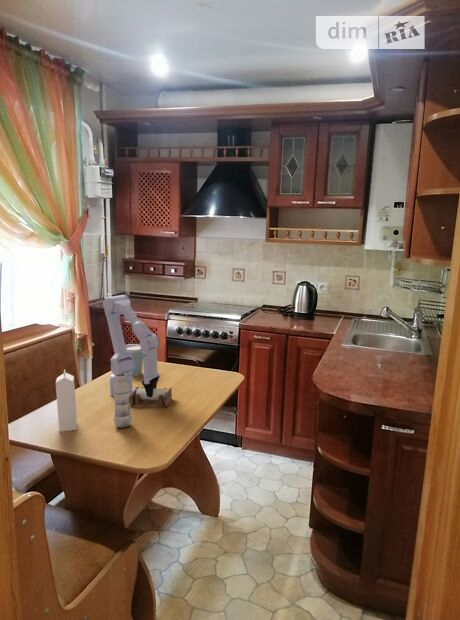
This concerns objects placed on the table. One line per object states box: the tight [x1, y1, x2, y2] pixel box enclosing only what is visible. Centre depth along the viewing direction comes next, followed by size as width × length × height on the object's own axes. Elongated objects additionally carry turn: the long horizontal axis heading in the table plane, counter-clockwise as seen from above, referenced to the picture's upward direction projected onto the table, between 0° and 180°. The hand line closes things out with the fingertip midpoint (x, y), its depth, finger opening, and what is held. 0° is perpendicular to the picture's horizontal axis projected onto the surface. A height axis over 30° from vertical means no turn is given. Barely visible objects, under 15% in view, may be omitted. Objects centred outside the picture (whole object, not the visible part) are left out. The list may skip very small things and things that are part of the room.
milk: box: [55, 369, 78, 433], centre depth 166 cm, size 6×6×22 cm
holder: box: [129, 386, 173, 409], centre depth 191 cm, size 15×10×5 cm, turn 85°
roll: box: [136, 387, 168, 400], centre depth 190 cm, size 12×5×5 cm, turn 85°
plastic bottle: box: [113, 374, 133, 429], centre depth 167 cm, size 6×7×20 cm
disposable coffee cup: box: [125, 343, 144, 378], centre depth 225 cm, size 11×11×15 cm
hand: (151, 394), depth 190 cm, fingers closed on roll, 5 cm apart
